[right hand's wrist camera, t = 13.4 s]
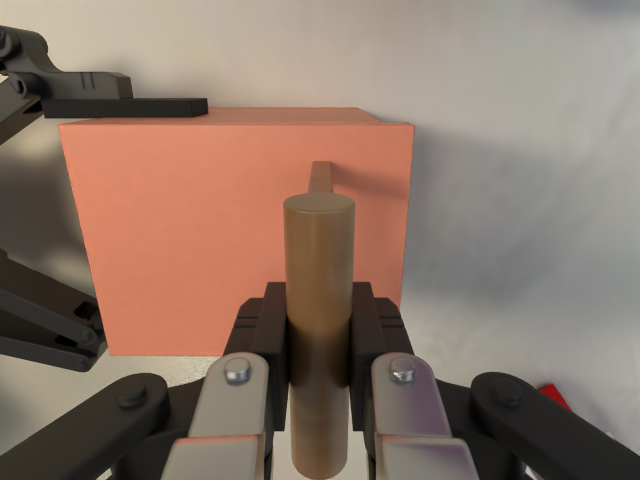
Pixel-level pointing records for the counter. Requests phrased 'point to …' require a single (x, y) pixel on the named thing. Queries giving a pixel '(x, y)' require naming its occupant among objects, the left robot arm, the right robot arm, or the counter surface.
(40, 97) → the left robot arm
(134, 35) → the counter surface
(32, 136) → the counter surface
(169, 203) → the lid
